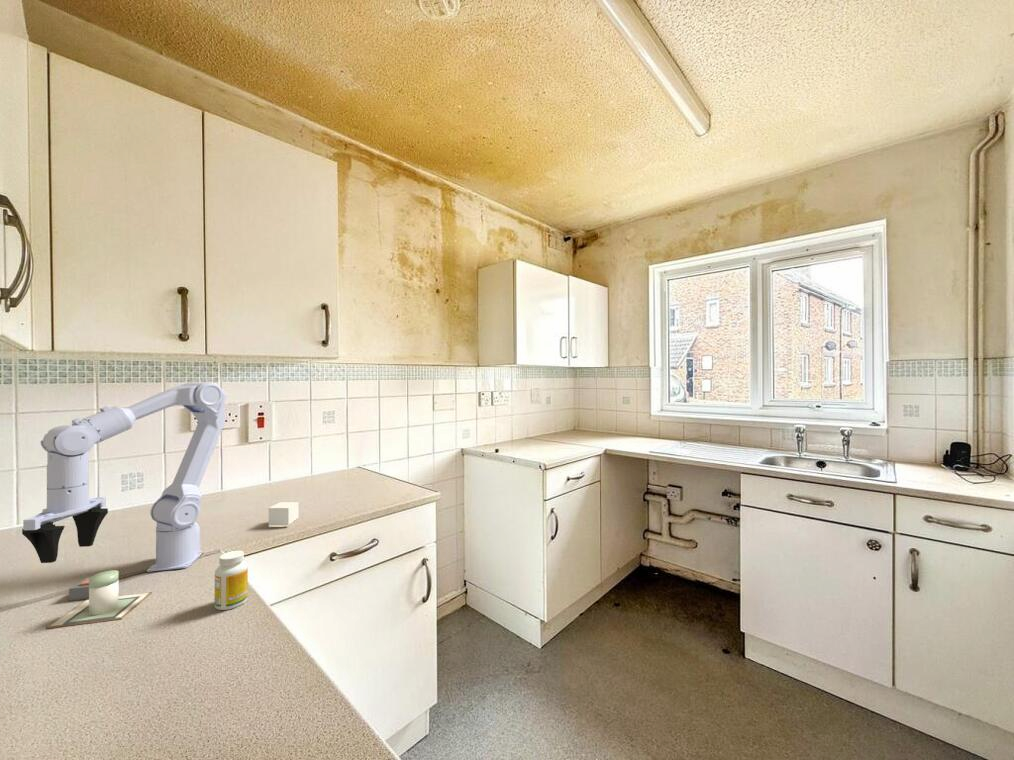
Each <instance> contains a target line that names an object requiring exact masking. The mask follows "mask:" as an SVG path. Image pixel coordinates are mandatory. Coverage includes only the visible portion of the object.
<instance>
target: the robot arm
mask: <svg viewBox="0 0 1014 760" xmlns="http://www.w3.org/2000/svg"><path fill="white" fill-rule="evenodd" d="M227 397H228V396H227V394H226V393H225V391H224V390H223V388H222V387H221V386H220V385H219V384H217V383H215V382H213V381H212V382H210V381H208V382H185V383H183V384H181V385H175V386H172V387H170V388H168V389H165V390H164V391H161V392H158V393H157V394H154V395H151V396H149V397H147V398H145V399H143V400H141V401H138V402H136V403H134V404H132V405H129V406H127V407H125V408H124V407H121V406H117V405H115V406H112V407H111V406H107V405H106V406H103V407H101V408H99V412H96V413H94V414H91V415H89V416H86V417H83V418H78V417H77V418H74V419H72V420H71V425H59V426H55V427H53V428H51V429H49V430H48V431H47V433H45V434H44V436H43V438H42V440H40V445H41V447H42V449H43V450H44V451H45V452H47V453H46V454H47V457H46V458H47V463H46V508H43V509H42V511H41V512H40V513H38V514H35V515H33V516H32V517H29V518H26V519H23V520H22V521H23V523H22V524H23V525H22V526H23V528H22V530H21V533H22V535H23V536H24V537H25V538H26V539H27V540H28V541H29V542H30V543H31V545H32V547H33V548H34V550H35V551H36V554H37V557H38V558H39V561H40V563H41V564H51V563H52V564H53V563H55V562H56V561H57V559H58V555H59V543H60V539H61V537H62V533H63V531H64V529H65V525H56V522H59V521H63V520H65V519H69V518H71V517H72V519H73V521H74V524H75V526H76V527H75V528H76V534H77V535H76V536H77V544H78V547H80V548H83V547H84V548H85V547H86V548H87V547H91V546H93V545H94V542H95V539H96V537H97V533H98V530H99V528H100V526H101V525H102V523H103V520H104V519H105V517H106V516H107V515H108V513H109V508H107V507H106V505H107V503H106V502H107V500H106V499H107V498H106V497H105V496H103V497H93V498H90V497H89V496H90V484H89V483H90V482H89V481H90V480H89V479H90V478H89V477H90V474H89V473H90V469H89V466H90V465H89V462H90V461H89V452H90V451H91V450H92V449H93V447H94V446H95V445H97V444H100V443H102V442H104V441H106V440H108V439H111V438H113V437H115V436H118V435H119V434H122V433H125V432H126V431H129V430H130V429H132V428H133V426H134V425H135V422H136V421H137V420H140V419H142V418H144V417H148V416H150V415H153V414H155V413H159V412H161V411H163V410H165V409H167V408H170V407H174V406H182V407H184V408H185V409H187V410H188V411H189V412H190V413H192V414H193V416H194V418H195V419H196V421H197V424H196V427H195V429H194V431H193V434H192V436H191V438H190V440H189V444H188V445H187V448H186V450H185V453H184V455H183V457H182V460H181V462H180V464H179V467H178V468H177V472H176V473H175V476H174V478H173V481H172V483H171V484H170V485H168V486H167V487H166V488H165V489H164V490H163V491H162V493H161V496H160V497H159V498H158V499H157V500H156V501H155V502H154V503H153V504H152V506H151V508H150V512H149V514H150V517H151V520H152V521H154V522H156V526H155V563H154V564H152V565H151V566H150V567H149V568H147V569H146V572H147V573H149V572H151V573H152V572H158V571H168V570H178V569H185V568H188V567H189V566H190V565H191V564H193V563H194V562H195V561H196V560H197V559H199V557H201V556H202V555H201V553H200V554H197V553H198V552H202V550H203V551H205V549H201V527H200V525H199V524H198V523H197V522H196V521H197V520H198V519H199V517H200V515H201V502H202V499H203V495H202V492H201V490H200V485H201V483H202V480H203V478H204V475H205V472H206V470H207V468H208V465H209V462H210V460H211V458H212V455H213V452H214V450H215V447H216V445H217V442H218V440H219V437H220V435H221V432H222V431H223V427H224V426H225V423H226V420H227V418H226V409H225V407H226V406H225V402H226V399H227ZM89 498H90V499H89ZM104 507H106V508H104ZM54 523H55V524H54ZM200 555H201V556H200Z"/></svg>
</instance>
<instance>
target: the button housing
mask: <svg viewBox="0 0 1014 760" xmlns="http://www.w3.org/2000/svg"><path fill="white" fill-rule="evenodd" d="M90 577H91V576H87V577H85V578H84V579H82V580H81V581H79V582H76V584H75V585H72V586H71V587H69V588H68V602H71V601H79V600H89V585H85V586H80V584H81V583H83V582H84V581H86V580H87V579H89V578H90Z"/></svg>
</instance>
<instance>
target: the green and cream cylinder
mask: <svg viewBox="0 0 1014 760" xmlns="http://www.w3.org/2000/svg"><path fill="white" fill-rule="evenodd" d="M119 573H120V571H119V570H116V569H114V570H113V569H112V570H105V571H102V572H98V573H95V574H93V575H91V576H89V577H90V578H89V599H88V600H89V614H90V615H100V614H104V613H107V612H110V611H112V610H114V609H116V608H117V607H118V606H119V596H120V595H119V594H120V593H119V592H120V591H119V589H120V588H119V587H120V586H119V583H120V582H119V581H120V580H119Z"/></svg>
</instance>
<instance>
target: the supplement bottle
mask: <svg viewBox="0 0 1014 760" xmlns="http://www.w3.org/2000/svg"><path fill="white" fill-rule="evenodd" d="M218 558H219V560H218V561H219V562H218V564H219V566H218V567H217V568H216V569H215V571H214V608H215V609H216V610H218V611H227V610H231V609H235V608H238V607H240V606H242V605H244V604H245V602H246V601H247V600H248V581H249V578H248V577H249V576H248V575H249V574H248V572H249V571H248V568H249V567H248V563H247V562H246V561H244V559H245V552H244V551H243V550H232V551H228V552H225V553H223V554H221V555H219V557H218Z"/></svg>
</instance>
